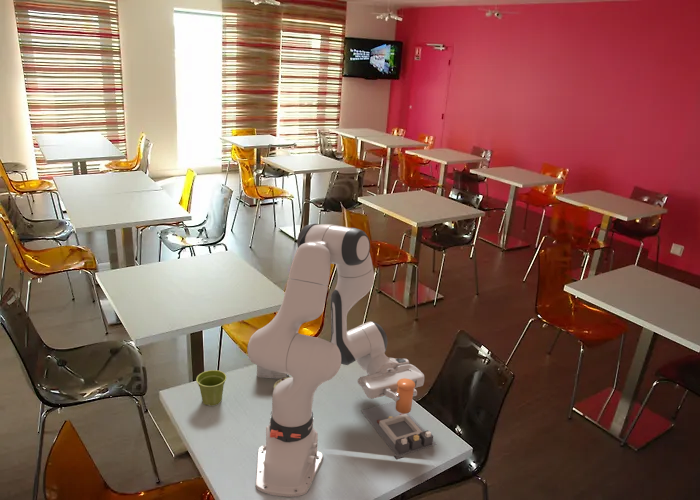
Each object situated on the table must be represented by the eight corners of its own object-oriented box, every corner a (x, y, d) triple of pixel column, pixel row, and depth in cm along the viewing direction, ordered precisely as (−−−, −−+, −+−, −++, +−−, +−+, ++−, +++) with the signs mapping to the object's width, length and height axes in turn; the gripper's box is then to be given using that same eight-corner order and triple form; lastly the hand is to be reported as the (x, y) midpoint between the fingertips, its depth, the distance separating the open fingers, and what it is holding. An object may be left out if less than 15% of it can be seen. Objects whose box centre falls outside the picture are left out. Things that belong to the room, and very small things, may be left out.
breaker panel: (436, 447, 161) (438, 433, 159) (396, 459, 155) (398, 445, 153) (397, 403, 180) (398, 390, 178) (360, 412, 174) (361, 399, 172)
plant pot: (192, 398, 175) (191, 375, 172) (218, 388, 181) (218, 366, 178) (205, 413, 168) (204, 389, 166) (231, 402, 174) (231, 380, 171)
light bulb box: (288, 369, 195) (289, 343, 191) (286, 379, 189) (287, 353, 185) (259, 367, 195) (259, 341, 191) (256, 377, 188) (256, 351, 185)
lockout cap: (412, 414, 160) (415, 389, 157) (394, 413, 160) (397, 388, 157) (411, 403, 165) (414, 379, 162) (394, 402, 165) (396, 377, 162)
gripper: (355, 370, 166) (377, 395, 155) (411, 357, 175) (435, 380, 164) (354, 387, 168) (375, 413, 157) (409, 374, 177) (432, 397, 166)
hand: (406, 396), depth 160 cm, fingers closed on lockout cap, 5 cm apart
